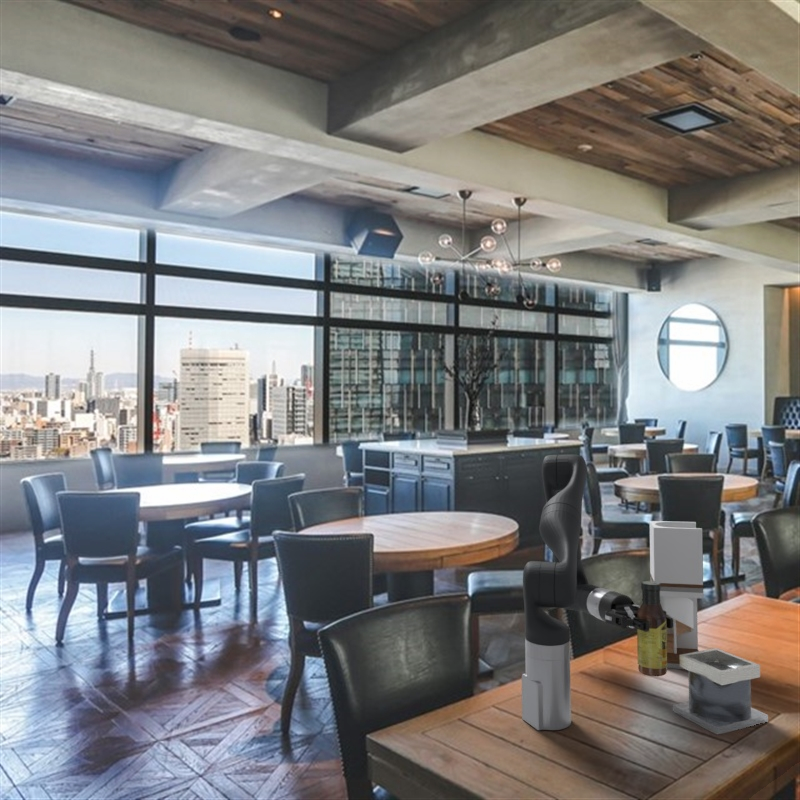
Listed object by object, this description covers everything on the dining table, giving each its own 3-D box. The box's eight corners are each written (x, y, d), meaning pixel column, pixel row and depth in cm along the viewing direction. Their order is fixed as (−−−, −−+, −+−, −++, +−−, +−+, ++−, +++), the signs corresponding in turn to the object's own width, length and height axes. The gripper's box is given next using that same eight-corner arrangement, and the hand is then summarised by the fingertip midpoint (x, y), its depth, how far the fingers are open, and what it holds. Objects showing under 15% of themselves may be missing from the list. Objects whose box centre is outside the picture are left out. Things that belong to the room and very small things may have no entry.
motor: (717, 734, 145) (716, 674, 145) (673, 711, 156) (672, 655, 156) (768, 722, 150) (767, 664, 150) (722, 700, 161) (721, 646, 161)
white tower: (655, 667, 182) (653, 527, 182) (651, 652, 192) (649, 520, 193) (704, 670, 179) (702, 528, 180) (697, 655, 190) (695, 522, 190)
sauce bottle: (669, 678, 157) (668, 587, 157) (639, 676, 158) (638, 585, 159) (664, 668, 164) (663, 580, 164) (635, 666, 165) (635, 578, 165)
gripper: (585, 593, 172) (633, 611, 156) (633, 588, 177) (685, 604, 162) (585, 625, 172) (634, 646, 156) (634, 618, 177) (685, 638, 162)
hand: (659, 625), depth 159 cm, fingers closed on sauce bottle, 6 cm apart
